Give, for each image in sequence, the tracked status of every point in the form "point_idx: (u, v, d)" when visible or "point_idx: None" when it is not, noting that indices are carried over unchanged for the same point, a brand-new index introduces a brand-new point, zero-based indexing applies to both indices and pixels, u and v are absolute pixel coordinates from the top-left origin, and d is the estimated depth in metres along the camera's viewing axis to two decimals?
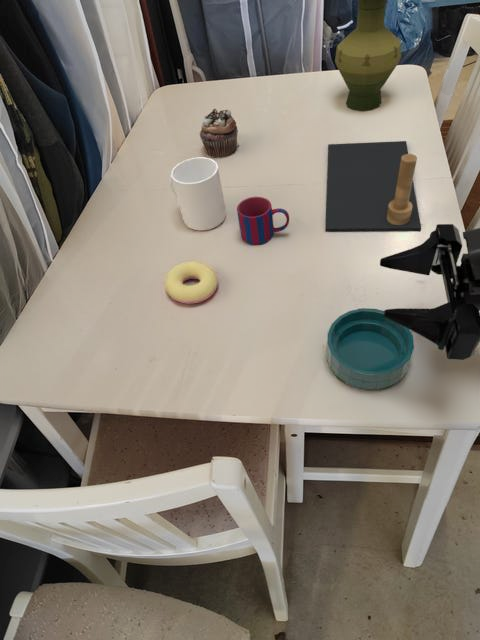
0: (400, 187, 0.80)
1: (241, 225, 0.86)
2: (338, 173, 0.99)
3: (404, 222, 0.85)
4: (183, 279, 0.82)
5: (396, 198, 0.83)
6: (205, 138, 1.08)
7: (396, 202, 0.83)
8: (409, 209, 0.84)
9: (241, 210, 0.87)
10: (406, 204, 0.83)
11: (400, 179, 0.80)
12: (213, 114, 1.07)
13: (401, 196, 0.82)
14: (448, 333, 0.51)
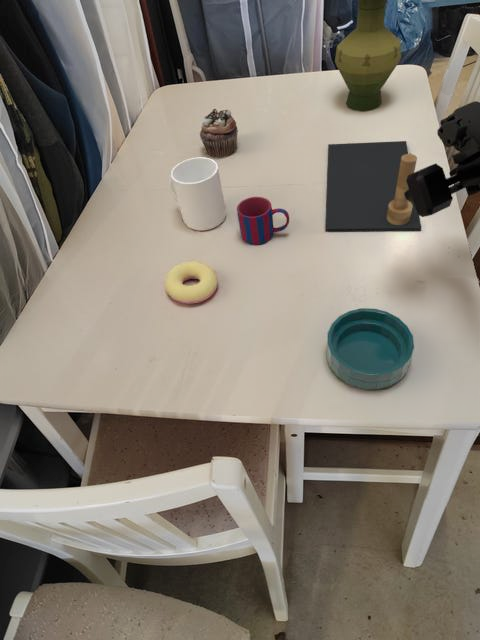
0: (400, 187, 0.80)
1: (241, 225, 0.86)
2: (338, 173, 0.99)
3: (404, 222, 0.85)
4: (183, 279, 0.82)
5: (396, 198, 0.83)
6: (205, 138, 1.08)
7: (396, 202, 0.83)
8: (409, 209, 0.84)
9: (241, 210, 0.87)
10: (406, 204, 0.83)
11: (400, 179, 0.80)
12: (213, 114, 1.07)
13: (401, 196, 0.82)
14: None
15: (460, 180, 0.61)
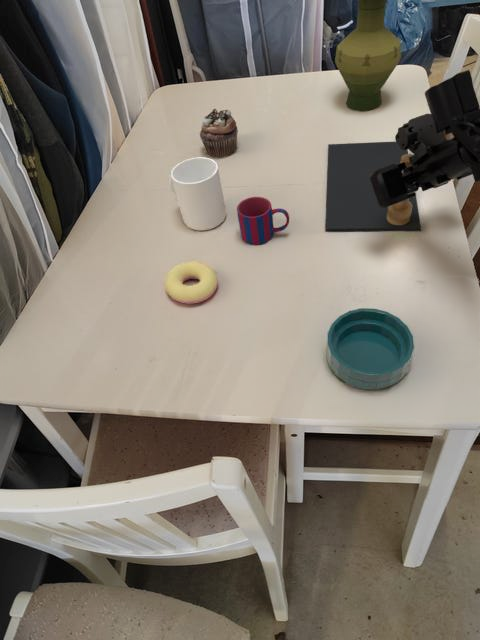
0: None
1: (241, 225, 0.86)
2: (338, 173, 0.99)
3: (404, 222, 0.85)
4: (183, 279, 0.82)
5: None
6: (205, 138, 1.08)
7: None
8: (409, 209, 0.84)
9: (241, 210, 0.87)
10: (406, 204, 0.83)
11: None
12: (213, 114, 1.07)
13: None
14: None
15: (415, 178, 0.73)
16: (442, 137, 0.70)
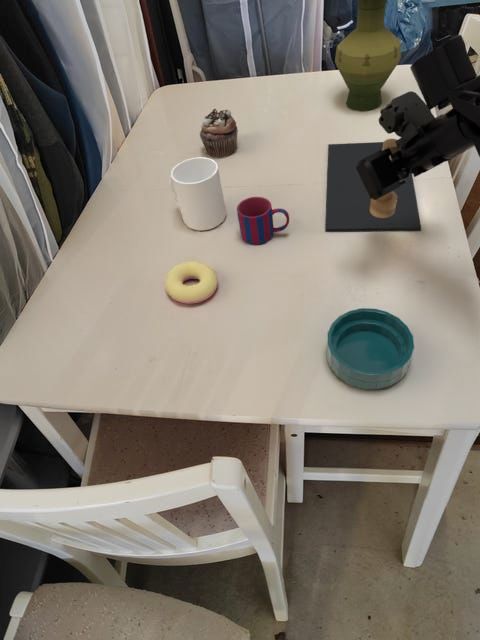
0: None
1: (241, 225, 0.86)
2: (338, 173, 0.99)
3: (390, 214, 0.78)
4: (183, 279, 0.82)
5: None
6: (205, 138, 1.08)
7: None
8: (394, 199, 0.77)
9: (241, 210, 0.87)
10: (391, 194, 0.76)
11: None
12: (213, 114, 1.07)
13: None
14: None
15: (405, 163, 0.66)
16: (430, 115, 0.63)
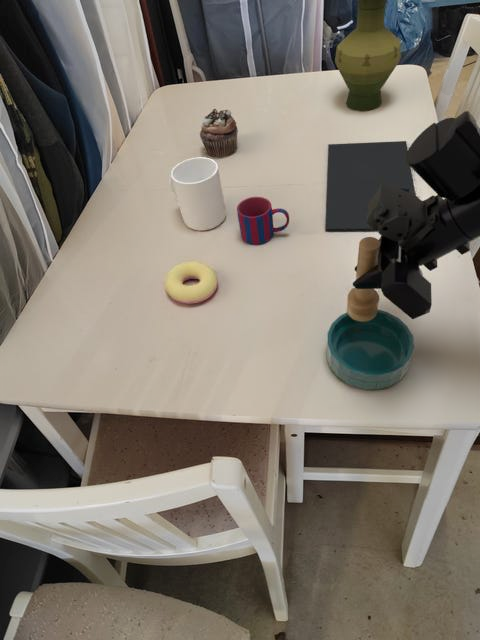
0: None
1: (241, 225, 0.86)
2: (338, 173, 0.99)
3: None
4: (183, 279, 0.82)
5: (364, 293, 0.61)
6: (205, 138, 1.08)
7: (365, 297, 0.62)
8: (377, 294, 0.64)
9: (241, 210, 0.87)
10: None
11: None
12: (213, 114, 1.07)
13: None
14: None
15: (417, 262, 0.53)
16: (419, 201, 0.51)
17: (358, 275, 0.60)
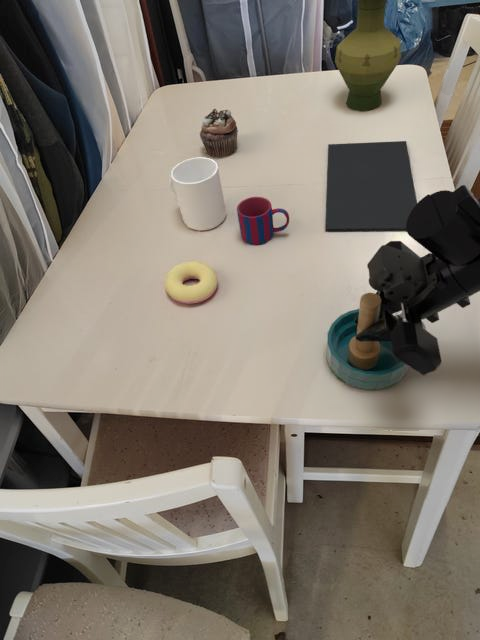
0: None
1: (241, 225, 0.86)
2: (338, 173, 0.99)
3: (378, 357, 0.66)
4: (183, 279, 0.82)
5: (366, 344, 0.62)
6: (205, 138, 1.08)
7: (367, 347, 0.63)
8: (377, 342, 0.65)
9: (241, 210, 0.87)
10: None
11: None
12: (213, 114, 1.07)
13: None
14: None
15: (421, 317, 0.54)
16: (417, 260, 0.53)
17: (360, 329, 0.60)
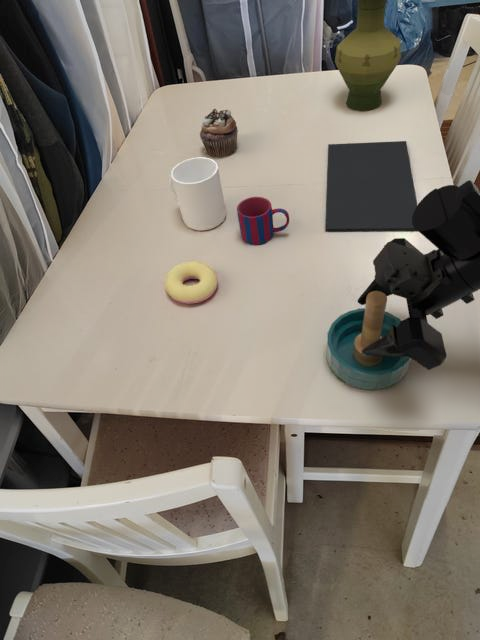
0: (377, 329, 0.61)
1: (241, 225, 0.86)
2: (338, 173, 0.99)
3: None
4: (183, 279, 0.82)
5: (371, 341, 0.63)
6: (205, 138, 1.08)
7: None
8: None
9: (241, 210, 0.87)
10: None
11: (376, 323, 0.60)
12: (213, 114, 1.07)
13: (378, 336, 0.63)
14: None
15: (425, 312, 0.55)
16: (422, 256, 0.54)
17: (366, 326, 0.61)
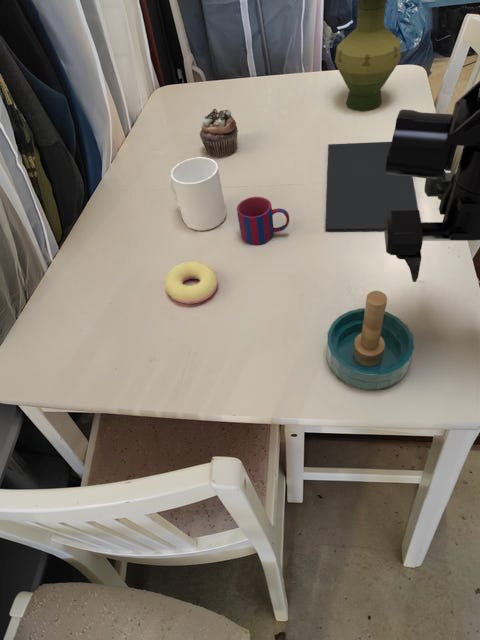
0: (377, 329, 0.61)
1: (241, 225, 0.86)
2: (338, 173, 0.99)
3: None
4: (183, 279, 0.82)
5: (371, 341, 0.63)
6: (205, 138, 1.08)
7: (372, 344, 0.64)
8: (381, 339, 0.66)
9: (241, 210, 0.87)
10: None
11: (376, 323, 0.60)
12: (213, 114, 1.07)
13: (378, 336, 0.63)
14: None
15: (443, 226, 0.53)
16: None
17: (366, 326, 0.61)
